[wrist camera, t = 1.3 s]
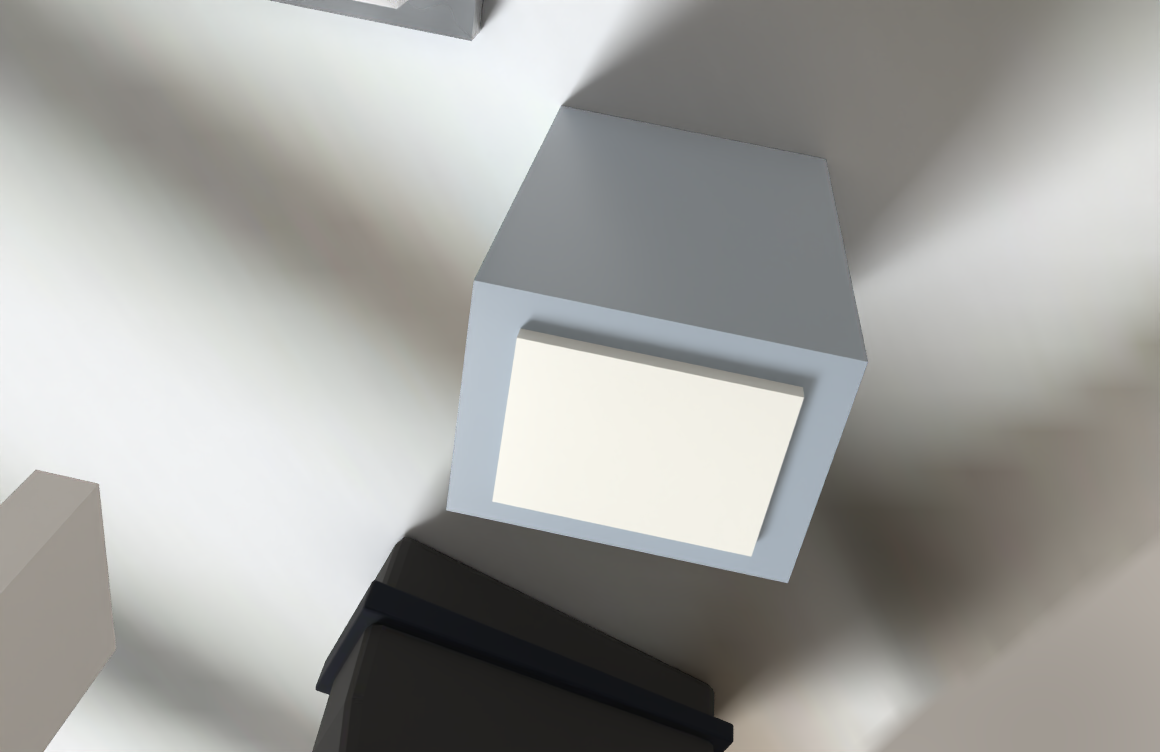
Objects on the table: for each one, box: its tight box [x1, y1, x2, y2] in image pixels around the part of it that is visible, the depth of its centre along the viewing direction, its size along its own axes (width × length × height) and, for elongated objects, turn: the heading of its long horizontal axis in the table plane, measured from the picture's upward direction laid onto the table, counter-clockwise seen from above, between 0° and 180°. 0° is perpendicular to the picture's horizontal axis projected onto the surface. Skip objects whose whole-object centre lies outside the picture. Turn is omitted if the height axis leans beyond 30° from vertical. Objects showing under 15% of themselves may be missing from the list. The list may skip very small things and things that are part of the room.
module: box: [446, 106, 868, 583], centre depth 20 cm, size 6×4×9 cm
